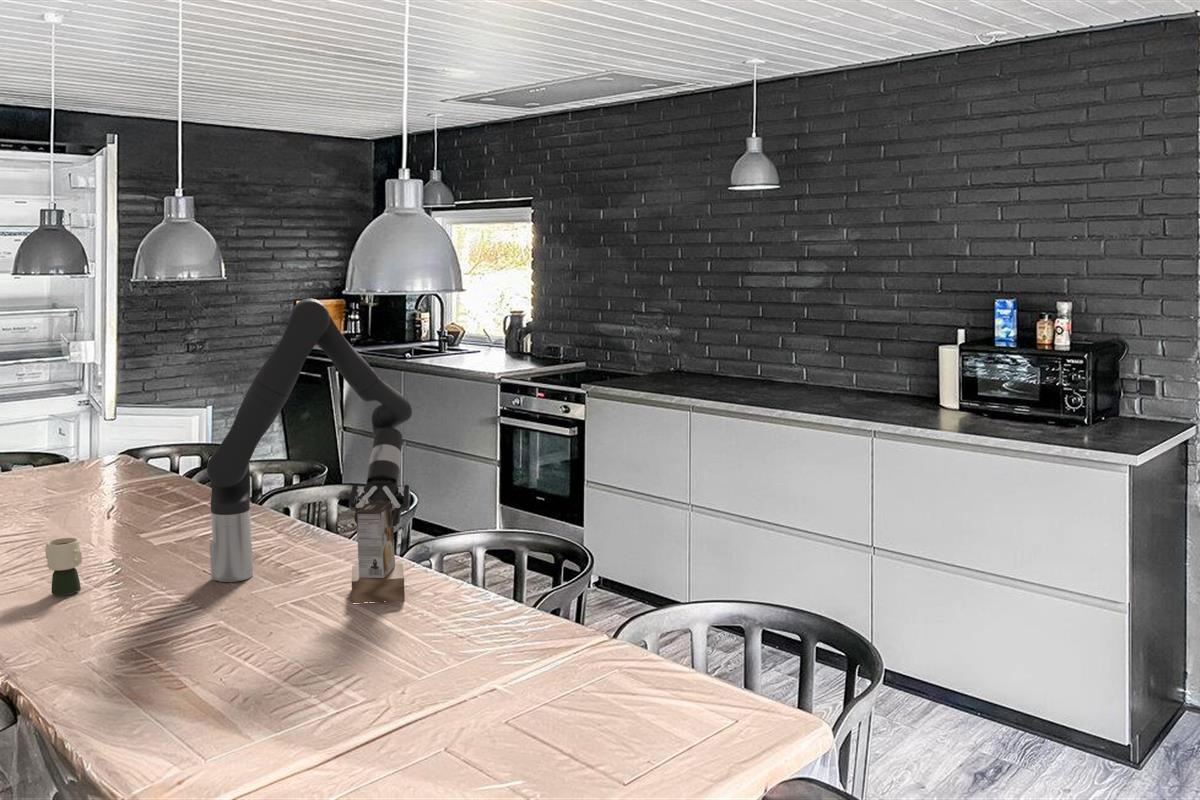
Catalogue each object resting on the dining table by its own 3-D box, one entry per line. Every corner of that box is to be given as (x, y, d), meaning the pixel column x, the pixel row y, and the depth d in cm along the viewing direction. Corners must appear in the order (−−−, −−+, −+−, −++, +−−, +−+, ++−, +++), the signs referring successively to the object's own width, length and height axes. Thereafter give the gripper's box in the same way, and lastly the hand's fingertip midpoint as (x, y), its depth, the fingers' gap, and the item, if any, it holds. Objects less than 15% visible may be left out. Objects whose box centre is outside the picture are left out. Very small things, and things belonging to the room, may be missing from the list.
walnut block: (352, 606, 243) (351, 581, 242) (353, 589, 254) (352, 566, 253) (404, 602, 245) (404, 578, 244) (403, 586, 257) (402, 563, 256)
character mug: (95, 591, 251) (92, 539, 249) (71, 600, 245) (67, 547, 243) (61, 586, 255) (57, 535, 253) (36, 595, 248) (32, 542, 247)
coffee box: (369, 566, 253) (367, 502, 251) (395, 567, 252) (393, 502, 250) (358, 578, 244) (355, 511, 242) (384, 578, 243) (382, 511, 241)
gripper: (352, 458, 254) (343, 516, 244) (411, 458, 254) (404, 516, 244) (358, 475, 260) (349, 532, 250) (415, 475, 260) (408, 532, 250)
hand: (376, 524), depth 247 cm, fingers open, 8 cm apart
